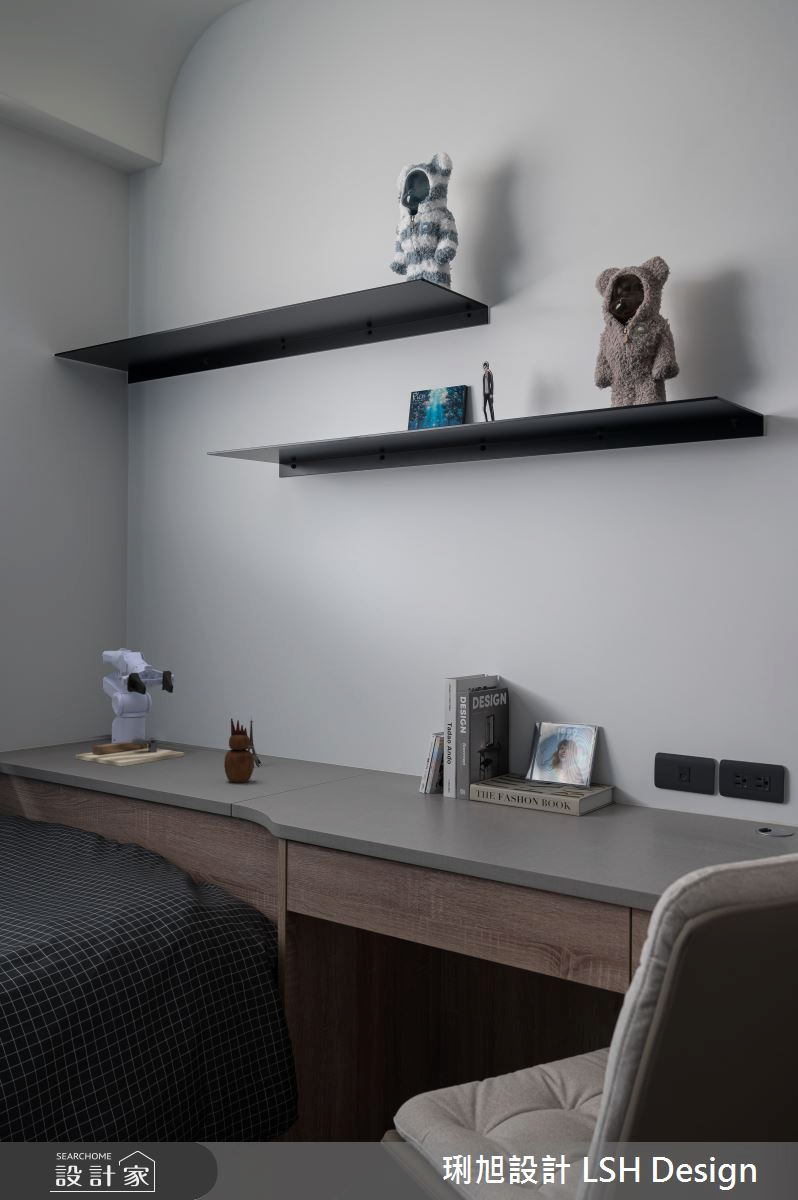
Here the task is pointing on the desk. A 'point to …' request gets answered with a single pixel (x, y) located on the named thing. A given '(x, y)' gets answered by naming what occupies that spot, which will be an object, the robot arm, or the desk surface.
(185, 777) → the desk surface
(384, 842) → the desk surface
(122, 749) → the wooden stick
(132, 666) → the robot arm
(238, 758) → the wooden figurine
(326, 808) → the desk surface
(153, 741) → the keeper
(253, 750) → the eiffel tower figurine
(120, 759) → the base plate
